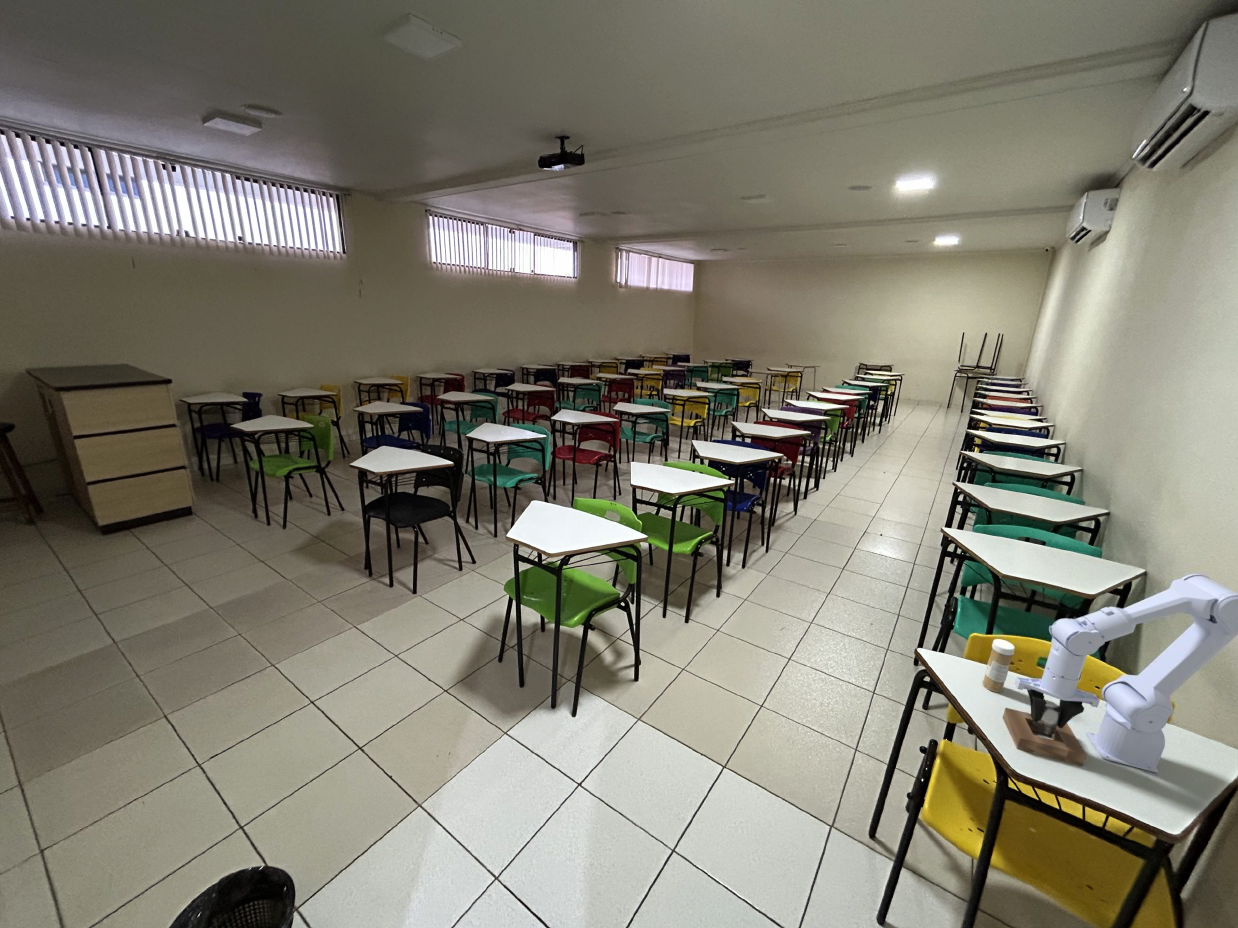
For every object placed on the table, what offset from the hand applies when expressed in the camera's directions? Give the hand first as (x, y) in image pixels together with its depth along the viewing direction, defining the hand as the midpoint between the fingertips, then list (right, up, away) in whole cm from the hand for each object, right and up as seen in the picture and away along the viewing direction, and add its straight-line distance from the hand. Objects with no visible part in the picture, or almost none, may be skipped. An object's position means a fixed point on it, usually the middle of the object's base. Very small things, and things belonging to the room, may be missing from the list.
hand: (1046, 721), depth 114 cm
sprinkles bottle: (+2, -1, +18) cm, 19 cm away
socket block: (0, -5, +1) cm, 5 cm away
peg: (0, -2, +1) cm, 2 cm away
